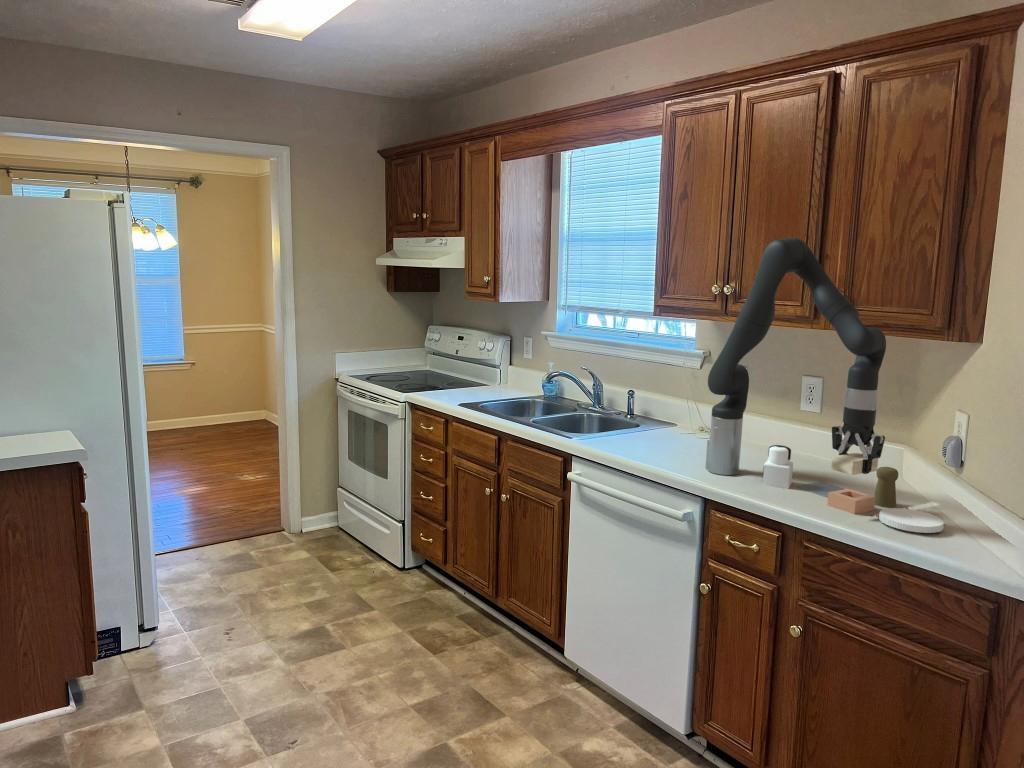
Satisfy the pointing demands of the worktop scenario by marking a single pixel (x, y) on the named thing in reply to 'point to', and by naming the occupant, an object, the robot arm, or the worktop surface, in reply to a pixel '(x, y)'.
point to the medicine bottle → (778, 467)
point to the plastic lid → (911, 520)
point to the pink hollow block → (851, 501)
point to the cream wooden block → (851, 463)
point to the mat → (819, 488)
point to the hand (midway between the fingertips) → (854, 470)
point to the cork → (886, 487)
